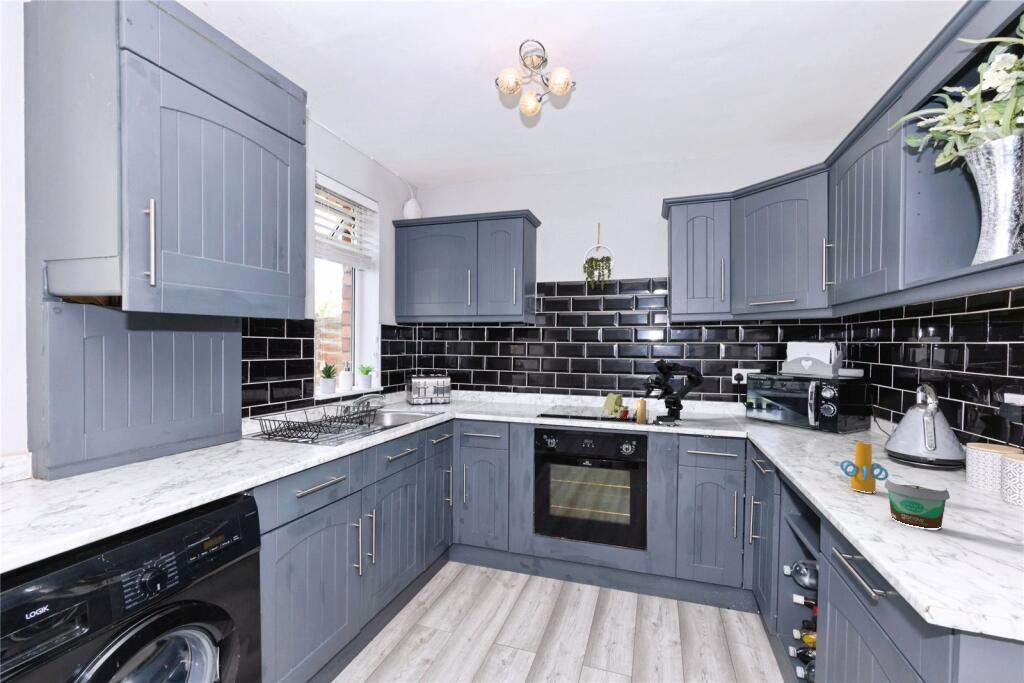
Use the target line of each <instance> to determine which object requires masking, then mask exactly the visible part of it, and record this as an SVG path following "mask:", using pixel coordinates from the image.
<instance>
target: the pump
mask: <svg viewBox="0 0 1024 683" xmlns="http://www.w3.org/2000/svg"><path fill="white" fill-rule="evenodd" d="M636 424H638V425H646V424H647V400H645V397H639V399H637V400H636Z"/></svg>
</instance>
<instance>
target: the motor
mask: <svg viewBox="0 0 1024 683" xmlns="http://www.w3.org/2000/svg"><path fill="white" fill-rule="evenodd" d="M655 418H656V419H653V420H652V425H653V424H655V425H654V426H660V425H673V424H675V425H676V420H675V417H671V416H668V415H667V414H666V415H665V414H663V415H661V414H660V415H656V417H655Z"/></svg>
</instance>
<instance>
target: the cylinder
mask: <svg viewBox="0 0 1024 683" xmlns="http://www.w3.org/2000/svg"><path fill="white" fill-rule="evenodd" d="M854 444H855V446H854V447H855V448H854V462H853V461H851V460H849V459H844V460H842V461H841V462H840V463H839V468H840V470H841V471H842V472H844V474H845V475H846V476H847V477H850V489H851V488H853V489H856V490H860V491H865V492H874V491H875V490H876V485H877V482H876V480H878V481H887V479H888V478H889V472H888V469H886V468H885V467H883V466H882V465H881V464H880V463H876V462H875V463H873V462H872V461H873V454H872V453H873V444H872V442H867V441H859V440H857V441H855V443H854ZM845 463H847V464H845ZM844 464H845V465H844ZM849 467H852V469H851V470H850V471H849V470H848V468H849ZM877 469H878V470H879V471H878V473H876V474H875V470H877ZM883 473H884V476H883V477H880V476H881V475H882V474H883ZM875 492H876V491H875Z"/></svg>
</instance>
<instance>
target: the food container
mask: <svg viewBox="0 0 1024 683" xmlns="http://www.w3.org/2000/svg"><path fill="white" fill-rule="evenodd" d="M883 487H884V488H885V489H887V491H888V500H889V501H888V502H889V509H890V517H891V516H892V518H894V519H895V520H897V521H900V522H902V523H905V524H909V525H913V526H919V527H924V528H939V527H941V526H942V527H943V520H944V513H945V507H946V502H947V500H950V499H951V497H950V493H949V492H950V491H949V490H948V488H946V489H945V490H936V489H931V488H927V487H923V486H920V485H914V484H899V483H895V482H893V481H890V480H889V479H888V478H887V479H886V480H885V483H884V486H883ZM892 518H891V519H892ZM942 527H941V528H942Z"/></svg>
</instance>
